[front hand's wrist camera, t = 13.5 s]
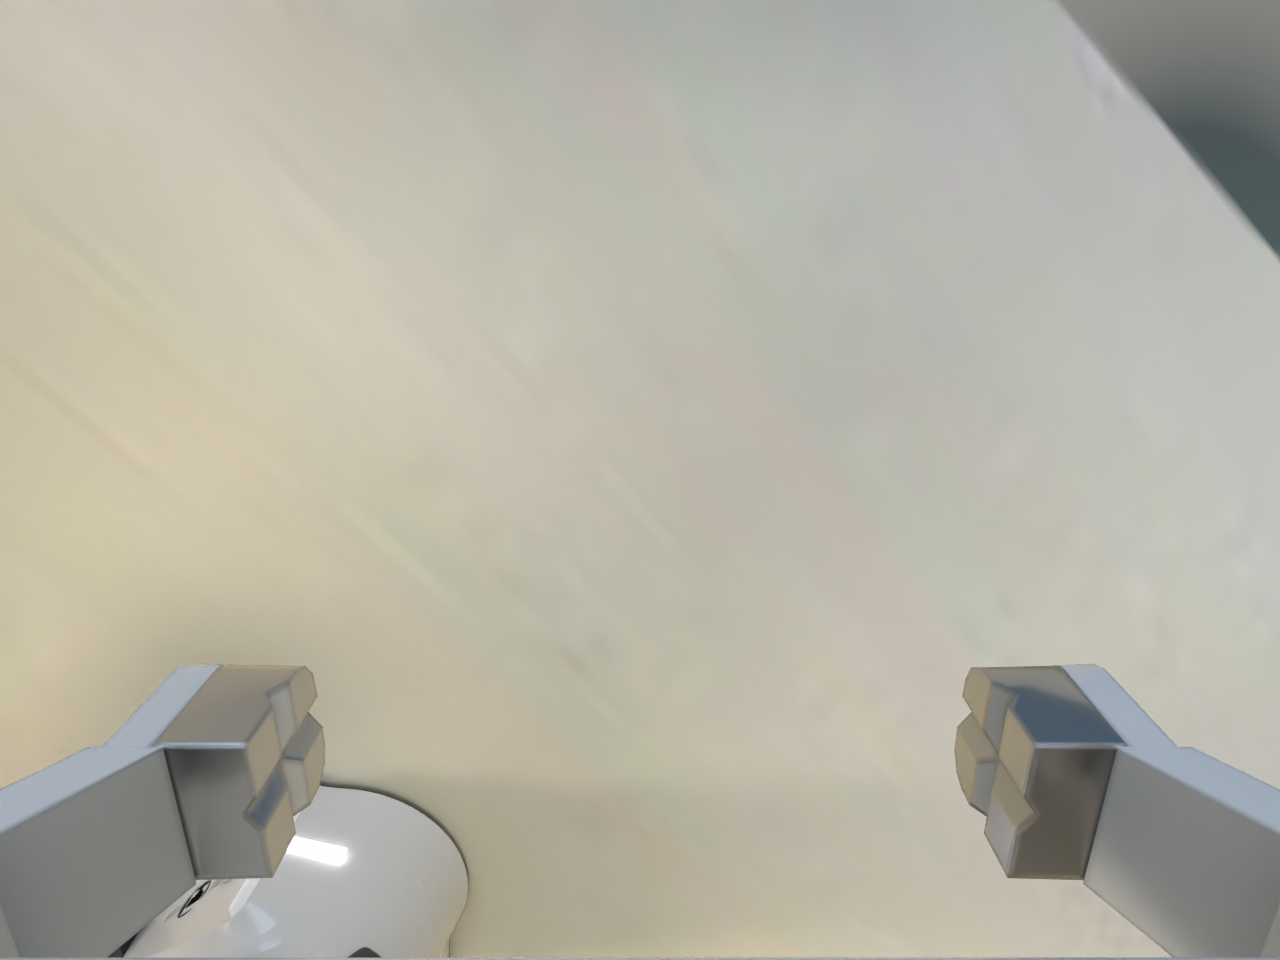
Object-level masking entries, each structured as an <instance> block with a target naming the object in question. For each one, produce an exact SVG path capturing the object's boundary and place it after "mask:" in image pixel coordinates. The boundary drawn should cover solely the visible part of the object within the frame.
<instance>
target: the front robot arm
mask: <svg viewBox="0 0 1280 960" xmlns="http://www.w3.org/2000/svg"><path fill="white" fill-rule="evenodd" d="M316 698H317V691H316V686H315V681H314V677H313V673H312V672H311V671H310V670H309V669H308V668H307V667H306V666H267V665H222V664H203V665H184V666H181V667H177V668H176V669H175V670H174V671H173V672H172V673H171V674H170V675H169V676H168V677H167V678H166V679H165V680H164V681H163V682H162V684H161V685H160V686H159V687H158V688H157V689H156V690H155V691H154V692H153V693H152V694H151V695H150V696H149V697H148V699H147V700H146V701H145V702H144V703H143V704H142V705H141V706H140V707H139V708H138V709H137V710H136V711H135V712H134V714H133V715H132V716H131V717H130V718H129V719H128V720H127V721H126V722H125V723H124V724H123V725H122V726H121V727H120V728H119V730H118V731H117V732H116V733H115V734H114V735H113V736H112V737H111V738H110V739H109V740H108V741H107V742H106V743H105V745H104V746H103V747H88V748H86V749H84V750H82V751H79V752H77V753H75V754H73V755H71V756H69V757H67V758H65V759H63V760H61V761H59V762H57V763H54V764H52V765H50V766H48V767H46V768H44V769H42V770H40V771H38V772H36V773H34V774H32V775H29V776H27V777H25V778H23V779H21V780H19V781H17V782H15V783H13V784H11V785H9V786H6V787H4V788H2V789H0V960H1280V789H1277V788H1275V787H1273V786H1271V785H1269V784H1267V783H1265V782H1263V781H1261V780H1259V779H1257V778H1255V777H1253V776H1250V775H1248V774H1246V773H1244V772H1242V771H1240V770H1238V769H1236V768H1234V767H1232V766H1230V765H1228V764H1225V763H1223V762H1221V761H1219V760H1217V759H1215V758H1213V757H1211V756H1209V755H1207V754H1205V753H1203V752H1201V751H1198V750H1196V749H1194V748H1192V747H1177V746H1176V744H1175V743H1174V742H1173V741H1172V740H1171V739H1170V738H1169V737H1168V736H1167V735H1166V734H1165V733H1164V732H1163V731H1162V729H1161V728H1160V727H1159V726H1158V725H1157V724H1156V723H1155V722H1154V721H1153V720H1152V719H1151V718H1150V717H1149V716H1148V715H1147V713H1146V712H1145V711H1144V710H1143V709H1142V708H1141V707H1140V706H1139V705H1138V704H1137V703H1136V702H1135V701H1134V700H1133V698H1132V697H1131V696H1130V695H1129V694H1128V693H1127V692H1126V691H1125V690H1124V689H1123V688H1122V687H1121V686H1120V685H1119V683H1118V682H1117V681H1116V680H1115V679H1114V678H1113V677H1112V676H1111V675H1110V674H1109V673H1108V672H1107V671H1106V670H1105V669H1104V668H1102V667H1100V666H1098V665H1095V664H1077V665H1053V666H1023V667H974V668H971V669H970V671H969V673H968V675H967V677H966V679H965V685H964V690H963V698H964V700H965V701H966V703H967V705H968V706H969V708H970V710H971V711H972V712H971V713H970V714H969V715H968V716H967V717H966V718H965V719H964V720H963V721H962V722H961V723H960V724H959V725H958V726H957V734H956V742H955V760H956V771H957V775H958V778H959V782H960V785H961V789H962V791H963V793H964V795H965V797H966V799H967V801H968V803H969V805H971V806H972V807H973V808H975V809H976V810H978V811H979V812H981V813H982V814H984V815H985V816H986V817H987V819H986V824H985V830H984V834H985V836H986V838H987V840H988V842H989V844H990V845H991V847H992V849H993V851H994V853H995V855H996V857H997V859H998V861H999V863H1000V864H1001V866H1002V868H1003V870H1004V872H1005V874H1006V876H1007V878H1029V879H1064V880H1084V882H1083V884H1084V885H1086V886H1087V887H1088V888H1089V889H1090V890H1092V891H1093V892H1094V893H1095V894H1097V895H1098V896H1099V897H1100V898H1101V899H1103V900H1104V901H1105V902H1106V903H1107V904H1109V905H1110V906H1111V907H1112V908H1114V909H1115V910H1116V911H1117V912H1118V913H1120V914H1121V915H1122V916H1123V917H1125V918H1126V919H1127V920H1128V921H1129V922H1131V923H1132V924H1133V925H1134V926H1135V927H1137V928H1138V929H1139V930H1140V931H1142V932H1143V933H1144V934H1145V935H1146V936H1148V937H1149V938H1150V939H1151V940H1153V941H1154V942H1155V943H1156V944H1157V945H1159V946H1160V947H1161V948H1162V949H1163V950H1165V951H1166V952H1167V953H1168V954H1170V955H1171V956H1172V957H1165V958H859V957H728V958H449V938H450V936H451V934H452V932H453V930H454V928H455V926H456V924H457V922H458V920H459V918H460V917H461V915H462V913H463V910H464V908H465V905H466V901H467V896H468V876H467V871H466V867H465V864H464V862H463V859H462V857H461V855H460V853H459V851H458V849H457V848H456V846H455V844H454V843H453V842H452V840H451V839H450V838H449V837H448V835H447V834H446V833H445V832H444V831H443V830H442V829H441V828H440V827H439V826H438V825H437V824H436V823H434V822H433V821H432V820H431V819H429V818H428V817H427V816H425V815H424V814H422V813H421V812H419V811H418V810H416V809H414V808H413V807H411V806H409V805H407V804H405V803H403V802H400V801H398V800H396V799H393V798H390V797H387V796H384V795H381V794H377V793H373V792H369V791H363V790H356V789H345V788H333V787H325V786H320V782H321V777H322V773H323V769H324V764H325V740H324V733H323V726H322V725H321V724H320V723H319V722H318V721H317V720H316V719H315V718H314V717H313V716H312V715H311V714H310V713H309V712H308V711H309V710H310V708H311V706H312V705H313V703H314V701H315V700H316Z"/></svg>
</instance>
